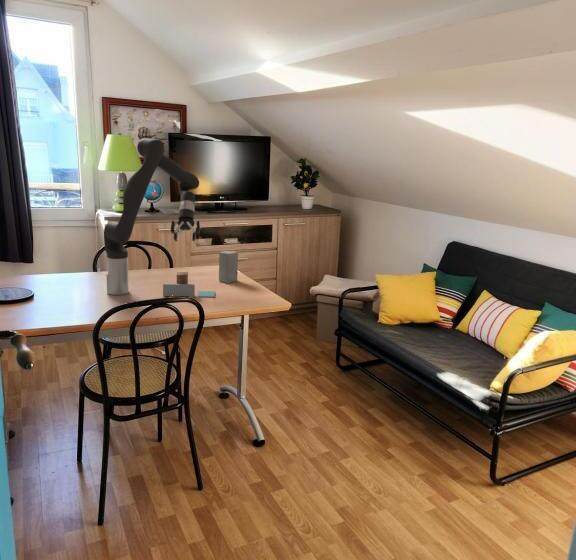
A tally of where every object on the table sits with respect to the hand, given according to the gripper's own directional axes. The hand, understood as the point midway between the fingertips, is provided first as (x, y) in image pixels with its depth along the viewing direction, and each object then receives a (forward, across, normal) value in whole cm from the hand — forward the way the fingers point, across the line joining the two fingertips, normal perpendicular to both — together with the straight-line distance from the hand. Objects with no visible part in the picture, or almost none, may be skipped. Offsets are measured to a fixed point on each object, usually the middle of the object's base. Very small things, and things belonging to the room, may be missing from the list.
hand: (184, 240), depth 257 cm
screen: (+30, -1, -1) cm, 30 cm away
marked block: (+26, 0, +3) cm, 27 cm away
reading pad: (+27, +12, +4) cm, 30 cm away
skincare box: (+12, +19, +25) cm, 34 cm away
